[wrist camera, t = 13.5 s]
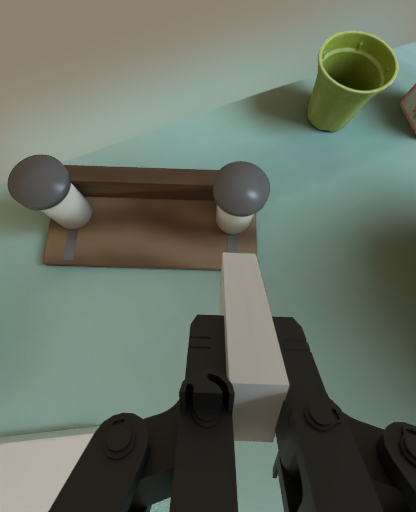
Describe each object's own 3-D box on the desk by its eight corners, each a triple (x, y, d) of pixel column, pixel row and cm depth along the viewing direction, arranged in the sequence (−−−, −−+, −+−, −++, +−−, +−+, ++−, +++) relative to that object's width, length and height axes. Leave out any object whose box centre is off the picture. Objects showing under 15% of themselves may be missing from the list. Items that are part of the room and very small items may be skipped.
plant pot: (282, 108, 41) (302, 52, 33) (328, 79, 42) (359, 18, 34) (324, 153, 39) (357, 106, 31) (371, 121, 41) (415, 67, 32)
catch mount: (255, 271, 35) (264, 262, 30) (47, 265, 34) (21, 254, 29) (254, 191, 37) (261, 171, 33) (61, 185, 37) (40, 164, 32)
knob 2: (255, 239, 34) (270, 213, 26) (210, 238, 34) (212, 211, 26) (254, 198, 36) (269, 162, 28) (211, 196, 36) (213, 160, 28)
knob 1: (93, 234, 34) (61, 207, 26) (47, 233, 34) (2, 205, 26) (99, 193, 35) (70, 155, 28) (55, 191, 35) (14, 153, 28)
